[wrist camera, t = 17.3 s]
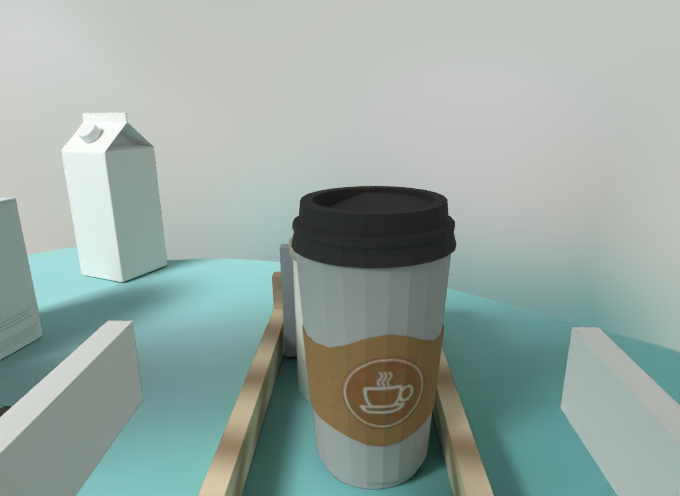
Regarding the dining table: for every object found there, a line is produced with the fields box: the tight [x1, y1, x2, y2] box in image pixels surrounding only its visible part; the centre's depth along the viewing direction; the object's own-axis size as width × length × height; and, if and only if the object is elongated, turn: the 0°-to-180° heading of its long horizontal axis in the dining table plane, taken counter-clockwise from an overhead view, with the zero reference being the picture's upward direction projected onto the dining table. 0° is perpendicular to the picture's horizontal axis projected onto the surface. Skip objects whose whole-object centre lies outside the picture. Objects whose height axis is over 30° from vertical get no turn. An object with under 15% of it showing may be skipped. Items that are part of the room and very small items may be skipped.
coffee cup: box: [291, 186, 456, 489], centre depth 27 cm, size 8×8×15 cm
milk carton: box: [62, 113, 167, 282], centre depth 60 cm, size 7×7×19 cm
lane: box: [198, 272, 494, 496], centre depth 33 cm, size 25×13×6 cm, turn 178°
